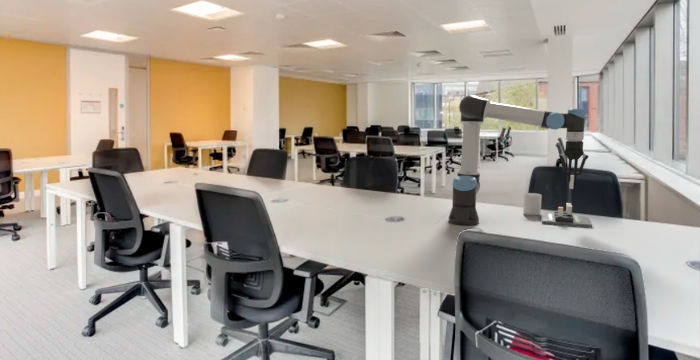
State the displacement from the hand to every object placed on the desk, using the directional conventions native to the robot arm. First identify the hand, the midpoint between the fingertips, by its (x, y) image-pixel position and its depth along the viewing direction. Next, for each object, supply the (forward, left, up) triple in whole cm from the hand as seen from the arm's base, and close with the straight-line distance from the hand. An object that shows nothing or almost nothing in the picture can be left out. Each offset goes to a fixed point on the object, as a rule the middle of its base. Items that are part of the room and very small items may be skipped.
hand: (571, 188), depth 206 cm
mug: (-17, +19, -18) cm, 32 cm away
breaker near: (-4, 0, -14) cm, 15 cm away
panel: (-1, +5, -18) cm, 19 cm away
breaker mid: (0, +6, -14) cm, 16 cm away
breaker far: (0, +12, -14) cm, 19 cm away
